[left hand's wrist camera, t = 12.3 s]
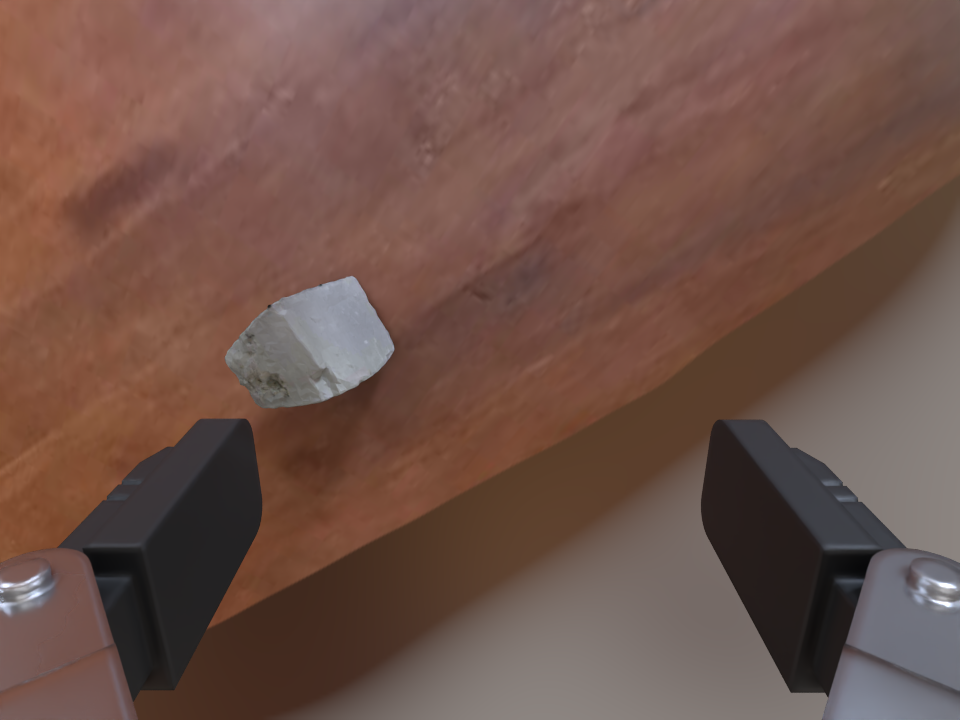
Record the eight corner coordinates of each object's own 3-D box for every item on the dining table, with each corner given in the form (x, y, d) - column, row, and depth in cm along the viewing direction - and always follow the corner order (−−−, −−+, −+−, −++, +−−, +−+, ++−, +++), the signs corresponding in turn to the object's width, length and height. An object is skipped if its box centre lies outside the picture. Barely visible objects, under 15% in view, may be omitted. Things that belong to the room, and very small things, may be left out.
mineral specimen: (315, 232, 39) (305, 285, 32) (404, 331, 43) (411, 397, 36) (224, 301, 40) (194, 367, 33) (319, 391, 44) (310, 466, 37)
